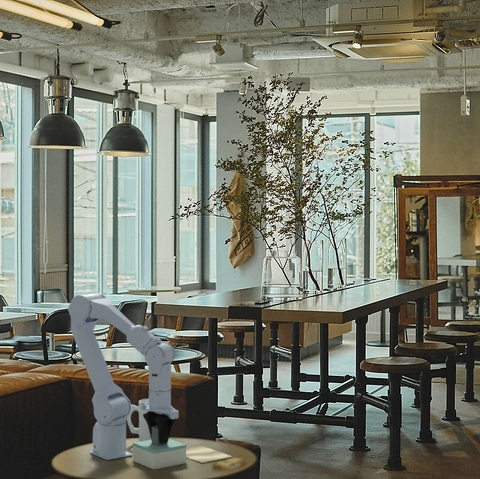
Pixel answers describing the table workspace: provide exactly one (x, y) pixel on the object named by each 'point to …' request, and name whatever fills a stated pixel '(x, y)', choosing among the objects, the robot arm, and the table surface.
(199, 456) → the cork mat
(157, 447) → the lid
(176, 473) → the table surface
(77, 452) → the table surface
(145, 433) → the mug
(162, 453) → the storage box
